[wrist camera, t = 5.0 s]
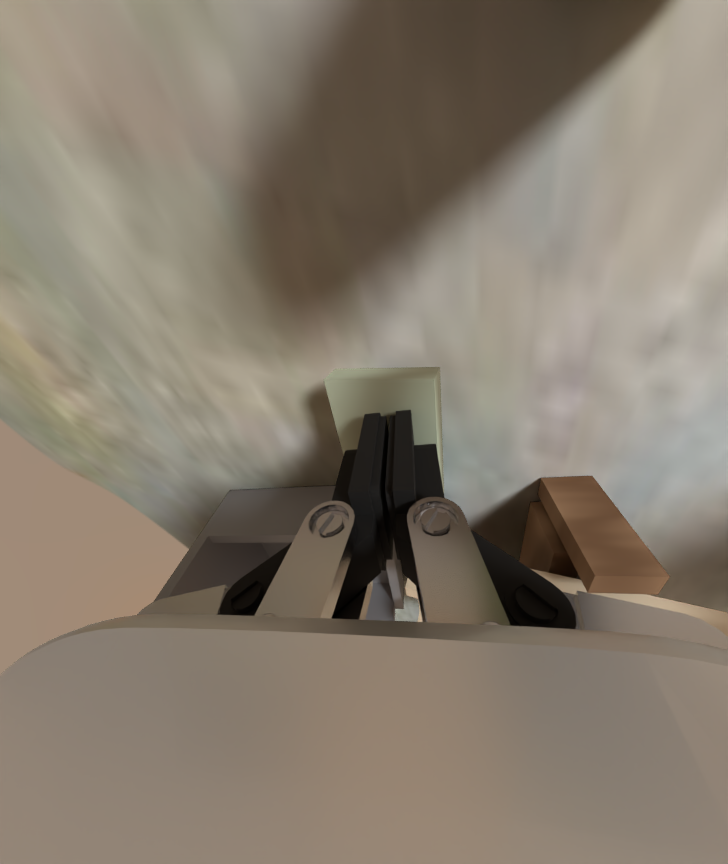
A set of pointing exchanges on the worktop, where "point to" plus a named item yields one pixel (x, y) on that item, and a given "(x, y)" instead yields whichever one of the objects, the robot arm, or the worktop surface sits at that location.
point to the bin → (266, 545)
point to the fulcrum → (587, 540)
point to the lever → (422, 395)
